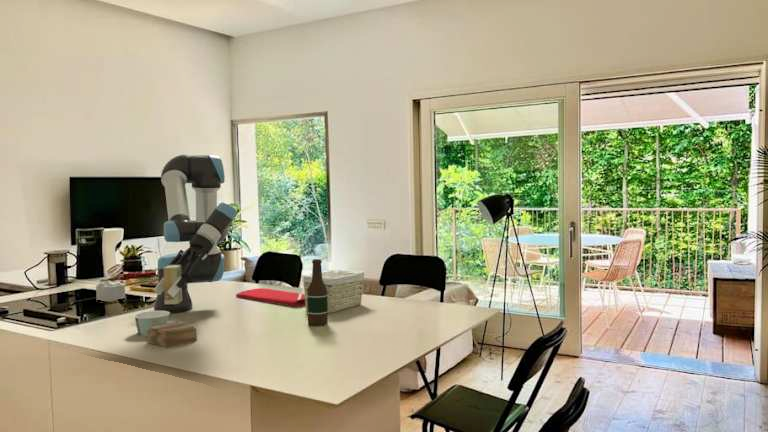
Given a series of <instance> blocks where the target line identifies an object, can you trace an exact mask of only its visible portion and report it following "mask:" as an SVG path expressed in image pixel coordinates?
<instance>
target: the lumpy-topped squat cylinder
mask: <svg viewBox="0 0 768 432" xmlns="http://www.w3.org/2000/svg"><path fill="white" fill-rule="evenodd" d="M95 287H96V288H95V289H96V291H95V292H96V294H95V295H96V301H97V300H101V301H112V300H117V299H123V298H125V299H126V284H125V283H122V282H121V281H120V280H114V281H111V280H106V281H100V282H99V283H97V284H96V286H95Z"/></svg>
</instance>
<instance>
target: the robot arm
mask: <svg viewBox="0 0 768 432" xmlns="http://www.w3.org/2000/svg"><path fill="white" fill-rule="evenodd" d="M160 181H161V184H162V186H163V187H164V191H165V199H166V201H165V202H166V210H167V218H168V221H167V220H166V221H165V222H164V223H163V239H164V240H165V242H169V243H184V242H185V243H186V242H189V243H188V244H189V247H188V248H187V249H186V250H185V251H184V250H183V249H180V250H179V251H178V252H176V253H170V254H166V255H165V254H164V255H163V256H160V257H159V258H157V268H156V270H157V285H156V286H155V287H154V289H153V291H154V292H155V293H157V295H156V298H155V302H154V305H153V311H168V312H170V314H171V313H181V312H187V311H190V310H192V309H193V302H192V299H191V296H190V293H189V288H188V284H199V283H212V282H214V283H215V282H219V281H220V280H222V278H223V276H224V273H225V272H224V271H225V265H226V263H225V262H226V261H225V260H226V259H225V255H224V254H223V253H221V249H220V248H219V247H218V244H221V243H222V242H223V241H224V240H225V239H226V237H227V236H228V233H229V232H228V231H229V229H230V227H231V224H232V223H233V221H235V218H236V217H237V216H238V211H237V210H236V208H235V207H234V206H233V205H232V204H230V203H228V202H223V201H221V202H220V203H219V204H218V191H219V190H220V189H221V188H222V187H221V184H224V183H225V169H224V164H223V160H222V159H221V157H220V156H219V155H211V154H179V155H177V156H175V157H173V158H171V159H170V160H169V161H167V163H166V164H165V165H164V167H163V169H162V170H161V175H160ZM186 184H191V188H192V190H194V192H195V220H191V216H190V209H189V203H188V195H187V190H186ZM168 265H181V274H180V275H181V276H179V277H178V279H177V280H176V281H175V283H174V284H173V285H172V287H171V288H170V289H169V290H168V292H167V293H168V294H169V295H171V296H172V297H173V298H174V297H175V295H176V294H177V293H178V291H179V290H180V289H181V288H182V301H181V302H180V303H178V304H165V301H164V267H166V266H168Z"/></svg>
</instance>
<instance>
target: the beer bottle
mask: <svg viewBox="0 0 768 432" xmlns="http://www.w3.org/2000/svg"><path fill="white" fill-rule="evenodd" d="M311 263H312V271H311V272H312V273H311V274H312V281H311V283H310V285H309V287H308V291H307V308H308V309H307V323H308V326H310V327H323V326H324V327H325V326H327V325H328V318H329V317H328V316H329V312H328V300H327V289H326V286H325V284H324V283H323V280H322V272H323V271H322V263H323V261H322V259H319V258H317V259H312V261H311Z"/></svg>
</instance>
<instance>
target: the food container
mask: <svg viewBox="0 0 768 432" xmlns="http://www.w3.org/2000/svg"><path fill="white" fill-rule="evenodd" d="M170 315H171V313H170V312H168V311H154V310H148V311H142V312H138V313H135V314H133V318H134V320H135V324H136V329H137V334H138V335H139V336H147V337H148V330H150V327H153V326H158V325H163V324H167V323H169V316H170Z"/></svg>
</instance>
